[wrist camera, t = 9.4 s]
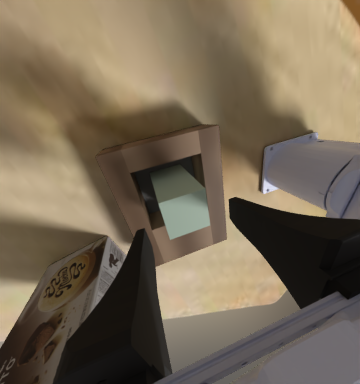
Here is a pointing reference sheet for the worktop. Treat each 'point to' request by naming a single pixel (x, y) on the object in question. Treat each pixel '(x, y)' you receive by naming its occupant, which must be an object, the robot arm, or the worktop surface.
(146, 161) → the well block
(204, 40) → the worktop surface
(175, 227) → the peg
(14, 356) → the coffee box
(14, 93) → the worktop surface
